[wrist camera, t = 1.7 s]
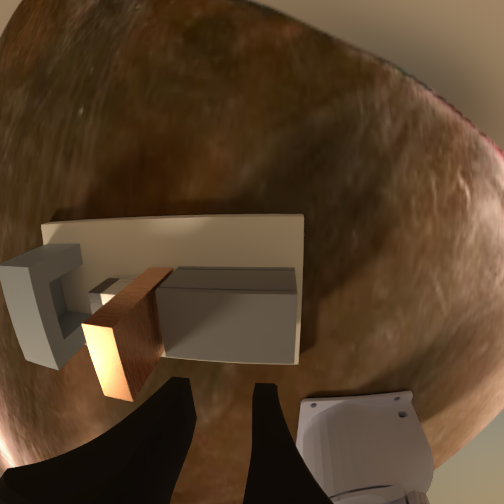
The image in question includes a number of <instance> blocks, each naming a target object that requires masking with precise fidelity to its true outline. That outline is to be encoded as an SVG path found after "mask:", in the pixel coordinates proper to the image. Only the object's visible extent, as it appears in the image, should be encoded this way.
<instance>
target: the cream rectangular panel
mask: <svg viewBox="0 0 504 504" xmlns="http://www.w3.org/2000/svg"><path fill="white" fill-rule="evenodd" d="M41 228H42V235H43V242H44V245H45V244H70V243H80V249H81V256H82V262H83V264H82V265H80V266H78V267H76V268H74V269H73V270H71V271H69V272H67V273H66V274H64V275H62V276H60V280H61V285H62V289H63V293H64V298H65V302H66V306H67V310H68V311H72V312H79V313H86V314H92V311H91V307H90V303H89V298H88V292H89V291H90V290H92V289H93V288H95V287H96V286H97V285H99V284H100V283H102V282H103V281H105V280H106V279H107V278H120V279H136V278H137V277H138V276H139V275H141V274H142V273H143V272H144V271H146V270H147V269H148V268H173V273H172V274H171V275H170V276H169V277H168V278H167V279H166V280H165V281H164V282H163V283H162V284H161V285H160V286H159V288H157V289H156V290H155V295H156V302H157V308H158V315H159V321H160V327H161V332H162V338H163V344H164V349H165V350H164V352H163V354H162V355H161V356H162V357H170V358H180V359H190V360H202V361H215V362H231V363H252V364H298V360H299V344H300V327H301V307H302V283H303V247H304V216H303V214H216V215H176V216H148V217H126V218H106V219H89V220H73V221H58V222H48V223H45V224H42V225H41ZM84 345H88V344H87V342H86V343H85V344H84Z"/></svg>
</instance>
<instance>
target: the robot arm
mask: <svg viewBox="0 0 504 504" xmlns="http://www.w3.org/2000/svg"><path fill="white" fill-rule="evenodd" d="M396 397H397V398H396ZM412 397H413V394H412V392H411V391H402V392H394V393H385V394H376V395H364V396H351V397H333V398H306V399H303V400H302V401H301V406H300V415H299V424H298V432H297V441H296V445H295V443H294V441H293V439H292V436H291V434H290V432H289V429H288V427H287V424H286V422H285V419H284V416H283V413H282V410H281V406H280V403H279V398H278V392H277V386H276V385H275V384H271V383H255V388H254V392H253V399H252V452H251V460H250V466H249V472H248V478H247V484H246V489H245V495H244V500H243V504H429V501H428V498H427V496H426V492H427V491H428V489H429V487H430V484H431V481H432V478H433V456H432V451H431V448H430V445H429V443H428V440H427V438H426V436H425V433H424V431H423V428H422V426H421V424H420V421H419V419H418V417H417V414H416V412H415V410H414V408H413V405H412V403H411V400H412ZM312 403H316V404H312ZM196 419H197V416H196V412H195V407H194V402H193V396H192V391H191V386H190V380H189V378H181V377H172V378H170V379H169V380H168V381H167V382H166V383H165V384H164V385H163V386H162V387H161V388H159V389H158V390H157V391H156V392H155V393H154V394H153V395H152V396H151V397H150V398H149V399H147V400H146V401H145V402H144V403H143V404H142V405H140V406H139V407H138V408H137V409H136V410H135V411H133V412H132V413H131V414H130V415H128V416H127V417H126V418H125V419H123V420H122V421H121V422H119V423H118V424H117V425H115V426H114V427H112V428H111V429H110V430H108V431H107V432H105V433H103V434H102V435H100V436H99V437H97V438H95V439H93V440H92V441H90V442H88V443H86V444H84V445H82V446H80V447H78V448H76V449H73V450H71V451H69V452H67V453H65V454H62V455H59V456H57V457H54V458H51V459H48V460H45V461H41V462H38V463H34V464H30V465H25V466H20V467H14V468H8V469H7V470H6V471H5V472H4V474H3V475H2V477H1V478H0V504H170V500H171V496H172V493H173V490H174V487H175V484H176V482H177V479H178V476H179V474H180V471H181V468H182V466H183V463H184V461H185V458H186V455H187V453H188V450H189V447H190V444H191V441H192V437H193V433H194V429H195V424H196ZM302 458H303V459H302Z"/></svg>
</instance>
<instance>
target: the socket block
mask: <svg viewBox="0 0 504 504" xmlns="http://www.w3.org/2000/svg"><path fill="white" fill-rule="evenodd" d="M82 264H83V262H82V256H81V249H80V243H70V244H45V245H43V246H41V247H38V248H36V249H33V250H31V251H29V252H26V253H24V254H22V255H19V256H17V257H15V258H13V259H10V260H8V261H6V262H4V263H2V264H0V280H1V285H2V289H3V292H4V296H5V300H6V303H7V307H8V310H9V313H10V317H11V320H12V323H13V326H14V329H15V332H16V335H17V338H18V340H19V343H20V346H21V349H22V351H23V354H24V356H25V359H26V360H28V361H31V362H34V363H37V364H40V365H43V366H46V367H49V368H53V369H56V370H59V369H60V368H61V367H62V366H63V365H64V364H65V363H66V362H67V361H68V360H69V359H70V358H71V357H72V356H73V355H74V354H75V353H76V352H77V351H78V350H79V349H80V348H81V347H82V346H83V345H84V344H85V343H86V342H87V341H86V338H85V334H84V330H83V327H82V323H83V322H84V321H85V320H87V319H88V318H89V317H90V316H91V315H92V314H86V313H79V312H72V311H68V310H67V306H66V302H65V298H64V293H63V289H62V285H61V280H60V276H62V275H64V274H66V273H67V272H69V271H71V270H73V269H74V268H76V267H78V266H80V265H82Z"/></svg>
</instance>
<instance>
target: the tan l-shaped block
mask: <svg viewBox="0 0 504 504" xmlns="http://www.w3.org/2000/svg"><path fill="white" fill-rule="evenodd" d="M172 273H173V268H148V269H147V270H146V271H144V272H143V273H142V274H141V275H139V276H138V277H137V278H136V279H120V278H107V279H106V280H105V281H103V282H102V283H100V284H99V285H97V286H96V287H95V288H93V289H92V290H90V291H89V292H88V298H89V303H90V307H91V311H92V315H91V316H90V317H89V318H88V319H87V320H85V321H84V322H83V323H82V327H83V330H84V334H85V338H86V341H87V344H88V348H89V351H90V354H91V357H92V360H93V363H94V366H95V369H96V372H97V375H98V378H99V381H100V384H101V386H102V389H103V392H104V394H105V395H106V396H110V397H114V398H118V399H123V400H128V401H132V402H133V401H134V399H135V398H136V396H137V395H138V393H139V391H140V390H141V388H142V386H143V385H144V383H145V381H146V380H147V378H148V376H149V375H150V373H151V372H152V370H153V368H154V367H155V365H156V363H157V362H158V360H159V359H160V357H161V355H162V354H163V352H164V350H165V349H164V344H163V338H162V332H161V327H160V321H159V315H158V308H157V302H156V295H155V290H156V289H157V288H159V286H160V285H161V284H162V283H163V282H164V281H165V280H166V279H167V278H168V277H169V276H170V275H171V274H172Z"/></svg>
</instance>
